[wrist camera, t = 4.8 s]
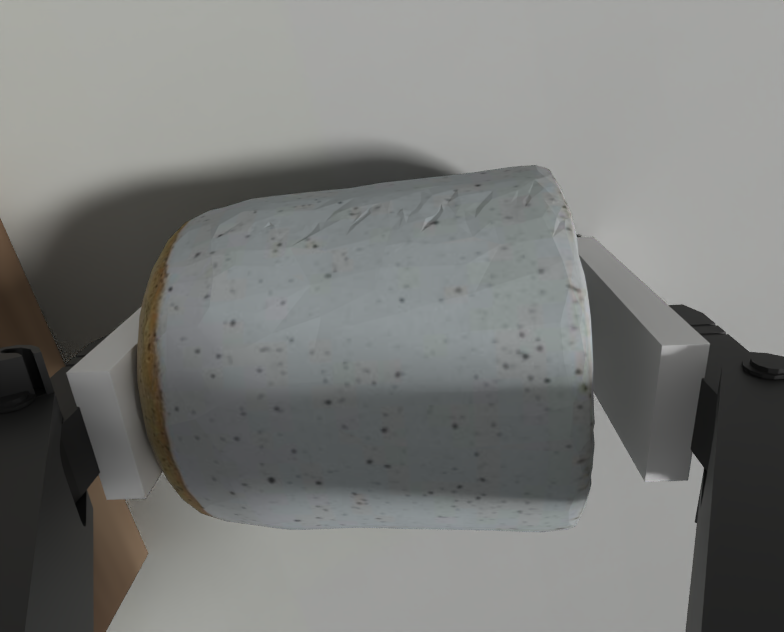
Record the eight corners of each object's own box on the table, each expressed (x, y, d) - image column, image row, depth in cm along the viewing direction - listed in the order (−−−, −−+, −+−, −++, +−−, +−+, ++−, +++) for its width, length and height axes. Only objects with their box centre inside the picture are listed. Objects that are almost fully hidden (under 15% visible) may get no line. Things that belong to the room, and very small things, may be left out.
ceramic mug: (209, 179, 15) (36, 282, 8) (524, 139, 15) (629, 213, 8) (288, 497, 19) (219, 744, 12) (536, 477, 19) (610, 725, 12)
